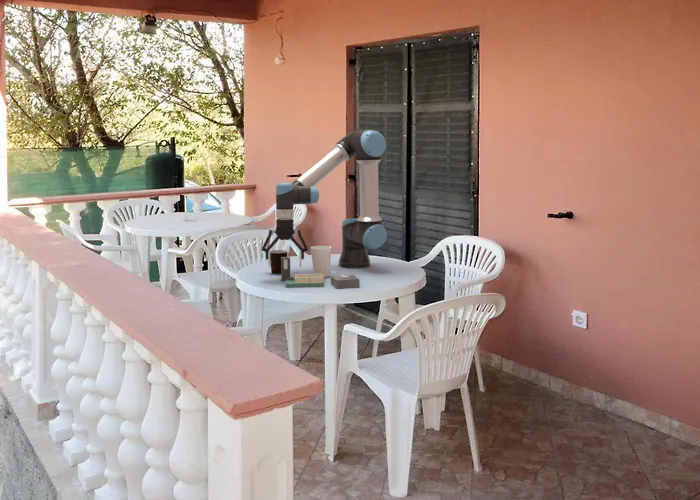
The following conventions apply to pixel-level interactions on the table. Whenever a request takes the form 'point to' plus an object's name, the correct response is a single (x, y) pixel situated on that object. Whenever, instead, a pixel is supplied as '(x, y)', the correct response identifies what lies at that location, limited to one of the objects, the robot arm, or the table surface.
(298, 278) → the socket
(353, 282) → the dark grey box
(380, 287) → the table surface
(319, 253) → the foam cup
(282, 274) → the plug
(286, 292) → the table surface
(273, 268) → the coffee mug
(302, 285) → the board
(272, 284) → the table surface
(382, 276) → the table surface
